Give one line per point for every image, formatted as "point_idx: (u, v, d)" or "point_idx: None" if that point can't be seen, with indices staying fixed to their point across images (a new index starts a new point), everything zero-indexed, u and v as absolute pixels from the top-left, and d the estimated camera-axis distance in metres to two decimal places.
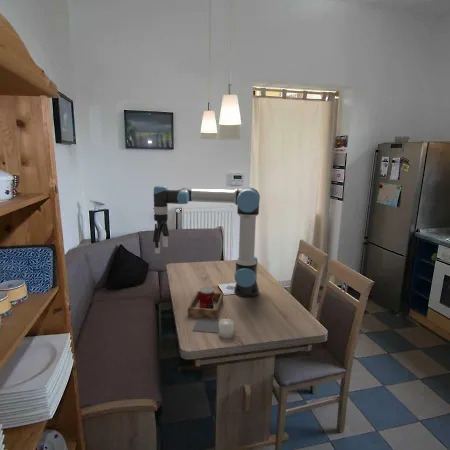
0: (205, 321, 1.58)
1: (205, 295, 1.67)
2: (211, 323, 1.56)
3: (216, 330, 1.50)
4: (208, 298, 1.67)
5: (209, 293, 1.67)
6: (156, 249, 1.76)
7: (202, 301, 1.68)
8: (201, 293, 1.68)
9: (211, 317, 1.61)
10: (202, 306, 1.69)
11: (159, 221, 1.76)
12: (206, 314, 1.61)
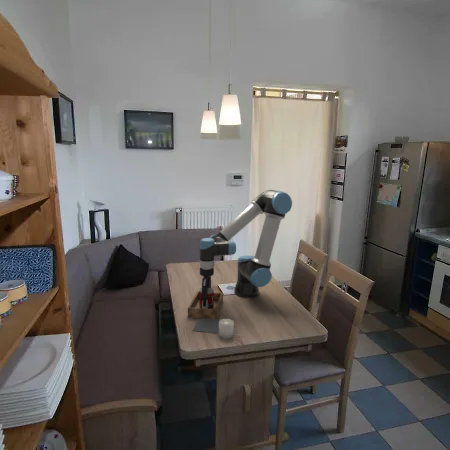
0: (205, 321, 1.58)
1: None
2: (211, 323, 1.56)
3: (216, 330, 1.50)
4: (208, 298, 1.67)
5: (209, 293, 1.67)
6: (204, 307, 1.68)
7: None
8: (201, 293, 1.68)
9: (211, 317, 1.61)
10: None
11: (206, 276, 1.65)
12: (206, 314, 1.61)
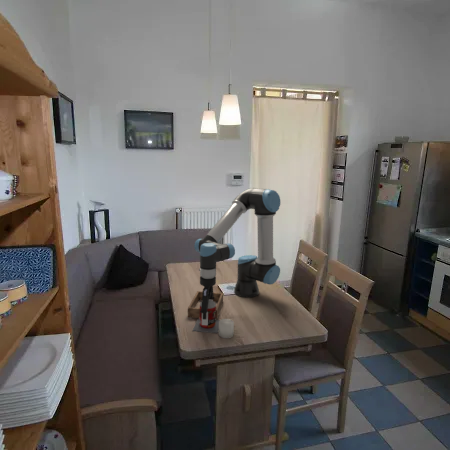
0: None
1: None
2: None
3: (216, 330, 1.50)
4: (209, 313, 1.49)
5: (211, 308, 1.49)
6: (203, 320, 1.47)
7: None
8: None
9: None
10: None
11: (207, 286, 1.47)
12: None
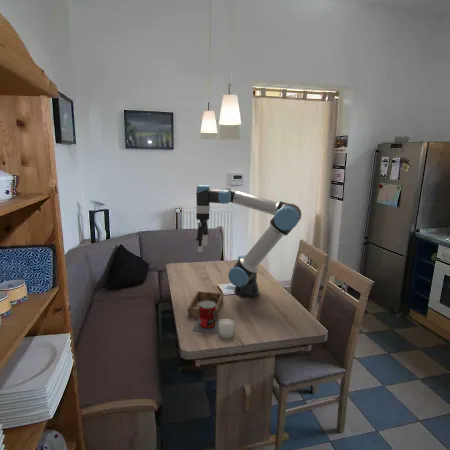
0: None
1: (206, 310, 1.49)
2: None
3: (216, 330, 1.50)
4: (209, 313, 1.49)
5: (210, 308, 1.49)
6: (199, 247, 1.78)
7: (203, 317, 1.50)
8: (201, 308, 1.50)
9: None
10: (203, 322, 1.51)
11: (202, 220, 1.78)
12: None
